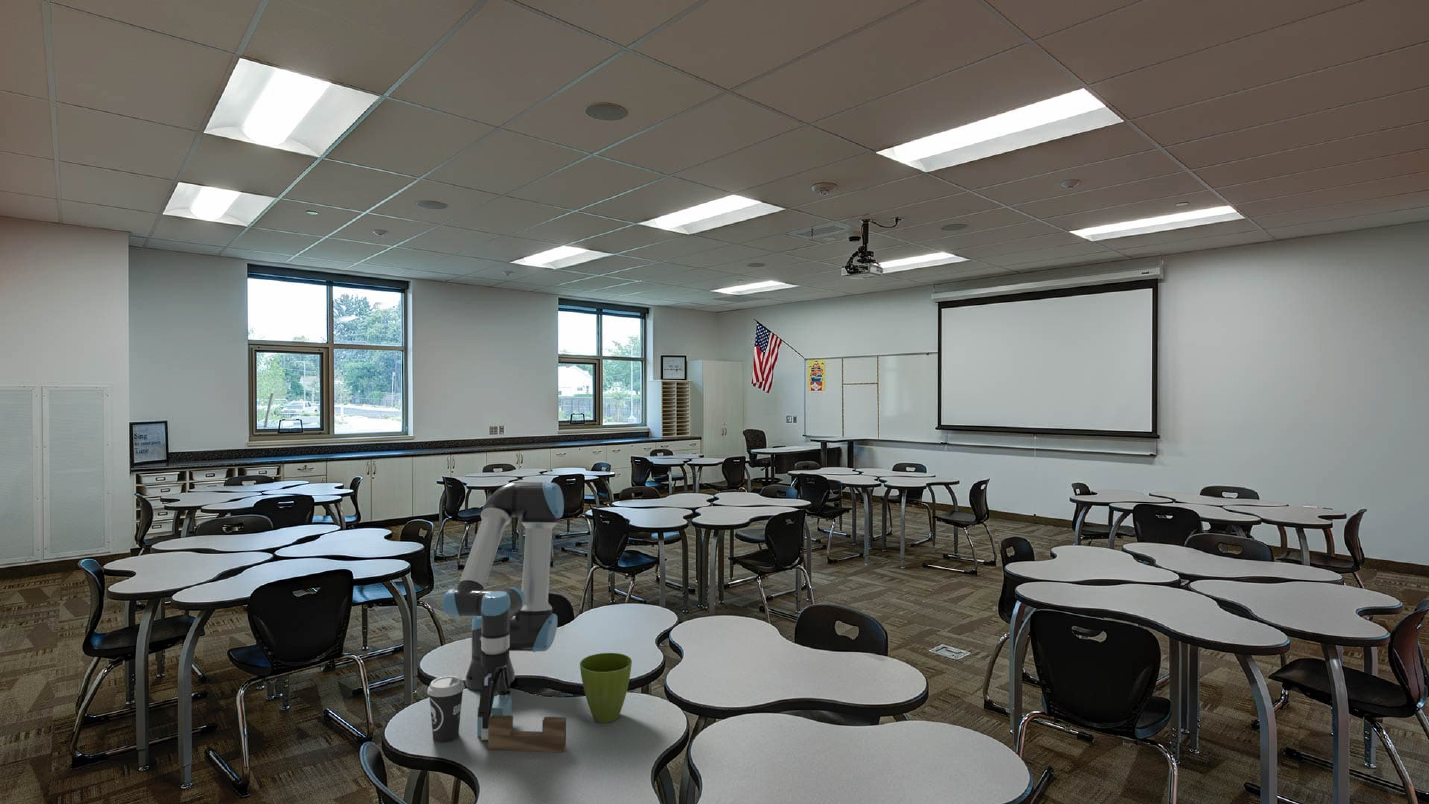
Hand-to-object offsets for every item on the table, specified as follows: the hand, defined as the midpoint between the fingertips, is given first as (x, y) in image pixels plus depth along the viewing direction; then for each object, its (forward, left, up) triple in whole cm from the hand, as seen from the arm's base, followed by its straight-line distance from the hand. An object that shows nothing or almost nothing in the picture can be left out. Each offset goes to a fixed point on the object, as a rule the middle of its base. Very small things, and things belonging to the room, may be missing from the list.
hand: (494, 728), depth 190 cm
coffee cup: (+4, -12, -1) cm, 13 cm away
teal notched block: (0, 0, -1) cm, 1 cm away
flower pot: (-10, +29, -1) cm, 31 cm away
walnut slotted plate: (+9, +12, -1) cm, 15 cm away
